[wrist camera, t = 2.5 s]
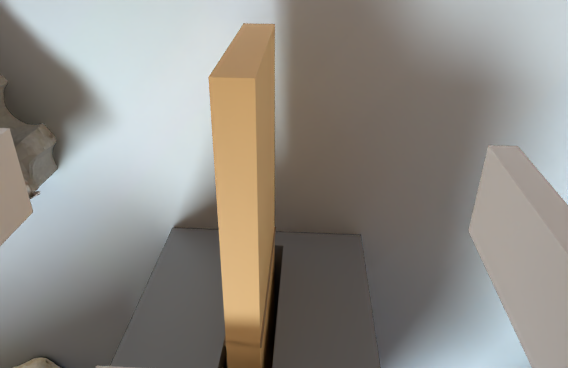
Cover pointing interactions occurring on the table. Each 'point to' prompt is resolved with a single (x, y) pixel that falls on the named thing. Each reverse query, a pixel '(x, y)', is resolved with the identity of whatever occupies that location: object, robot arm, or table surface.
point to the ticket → (246, 191)
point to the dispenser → (287, 305)
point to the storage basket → (38, 363)
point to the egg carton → (29, 147)
